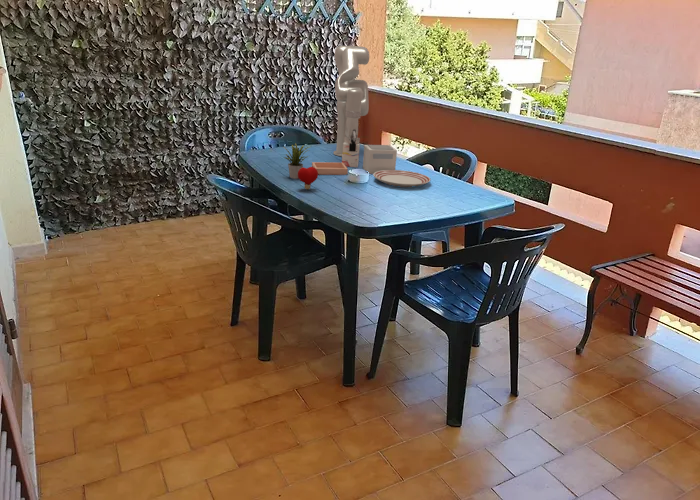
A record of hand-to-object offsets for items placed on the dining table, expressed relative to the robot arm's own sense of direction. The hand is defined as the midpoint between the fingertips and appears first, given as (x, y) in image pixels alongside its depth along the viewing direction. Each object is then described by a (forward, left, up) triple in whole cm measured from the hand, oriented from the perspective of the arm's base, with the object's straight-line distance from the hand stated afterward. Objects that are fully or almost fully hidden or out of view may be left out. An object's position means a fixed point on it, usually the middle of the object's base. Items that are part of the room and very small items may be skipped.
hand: (350, 149), depth 278 cm
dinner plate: (+31, +19, -9) cm, 37 cm away
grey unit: (+10, +13, -9) cm, 19 cm away
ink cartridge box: (0, 0, -9) cm, 9 cm away
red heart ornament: (+44, -28, -9) cm, 53 cm away
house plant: (+24, -30, -9) cm, 39 cm away
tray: (+12, -13, -9) cm, 20 cm away
